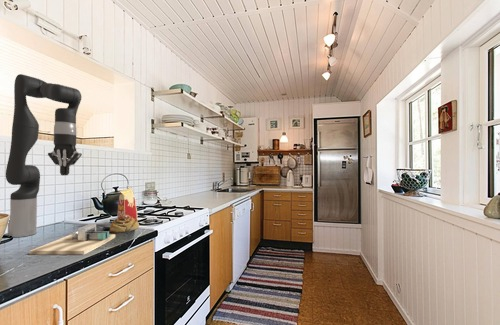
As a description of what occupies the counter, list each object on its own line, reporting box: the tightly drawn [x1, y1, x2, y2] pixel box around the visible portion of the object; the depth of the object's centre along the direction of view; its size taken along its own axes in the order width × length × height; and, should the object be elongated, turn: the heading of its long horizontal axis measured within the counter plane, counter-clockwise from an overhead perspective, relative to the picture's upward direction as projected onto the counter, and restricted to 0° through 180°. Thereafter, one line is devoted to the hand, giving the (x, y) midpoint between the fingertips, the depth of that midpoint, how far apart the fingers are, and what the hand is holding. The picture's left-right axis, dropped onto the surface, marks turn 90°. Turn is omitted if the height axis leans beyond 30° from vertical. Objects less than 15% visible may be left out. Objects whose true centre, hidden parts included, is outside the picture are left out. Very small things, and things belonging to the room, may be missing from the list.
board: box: [28, 233, 116, 256], centre depth 99 cm, size 20×21×2 cm
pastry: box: [108, 215, 140, 234], centre depth 125 cm, size 13×15×8 cm
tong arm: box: [76, 233, 106, 240], centre depth 102 cm, size 12×2×2 cm, turn 88°
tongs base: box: [71, 230, 110, 240], centre depth 103 cm, size 15×3×3 cm, turn 91°
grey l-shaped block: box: [77, 223, 97, 241], centre depth 103 cm, size 3×7×5 cm, turn 1°
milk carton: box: [116, 186, 138, 222], centre depth 141 cm, size 9×9×20 cm
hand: (64, 175), depth 100 cm, fingers closed
